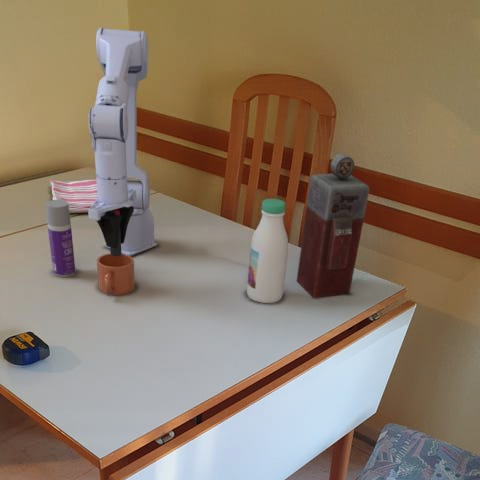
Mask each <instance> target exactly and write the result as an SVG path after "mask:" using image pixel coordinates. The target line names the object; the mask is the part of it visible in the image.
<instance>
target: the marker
mask: <svg viewBox="0 0 480 480" xmlns="http://www.w3.org/2000/svg"><path fill="white" fill-rule="evenodd" d="M113 212H115V214H116V215H120V210H119V209H114V210H113ZM109 250H110V253H111V255H112V256H120V255H121V254H123V253H121V232H120V226H119V234H118V246H117V248H111V247H110V248H109Z"/></svg>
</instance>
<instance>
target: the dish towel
mask: <svg viewBox="0 0 480 480" xmlns="http://www.w3.org/2000/svg"><path fill="white" fill-rule="evenodd" d="M49 183H50V187H51V195H52V200H63V201H66V202H68V206H69V214H84V213H88V209H89V208H90V207H92V205H93V204H94V202H95V200H96V199H97V197H98V194H97V180H96V179H85V180H73V181H72V180H69V181H61V180H50V181H49Z"/></svg>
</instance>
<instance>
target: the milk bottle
mask: <svg viewBox="0 0 480 480" xmlns="http://www.w3.org/2000/svg"><path fill="white" fill-rule="evenodd" d="M260 212H261V219H260V220H259V224H258V225H257V227H256V229H255V230H254V233H253V235H252V238H251V243H250V251H249V261H248V274H247V286H246V294H247V296H248V298H249V299H250V300H253V301H256V302H258V303H263V304H272V303H276V302H279V301H280V300H281V299H282V297H283V296H284V288H285V280H286V272H287V263H288V254H289V237H288V233H287V230H286V227H285V223H284V216H285V214H286V213H285V212H286V202H285V201H284V200H282V199H279V198H266V199H264V200H262V202H261V211H260Z"/></svg>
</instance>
